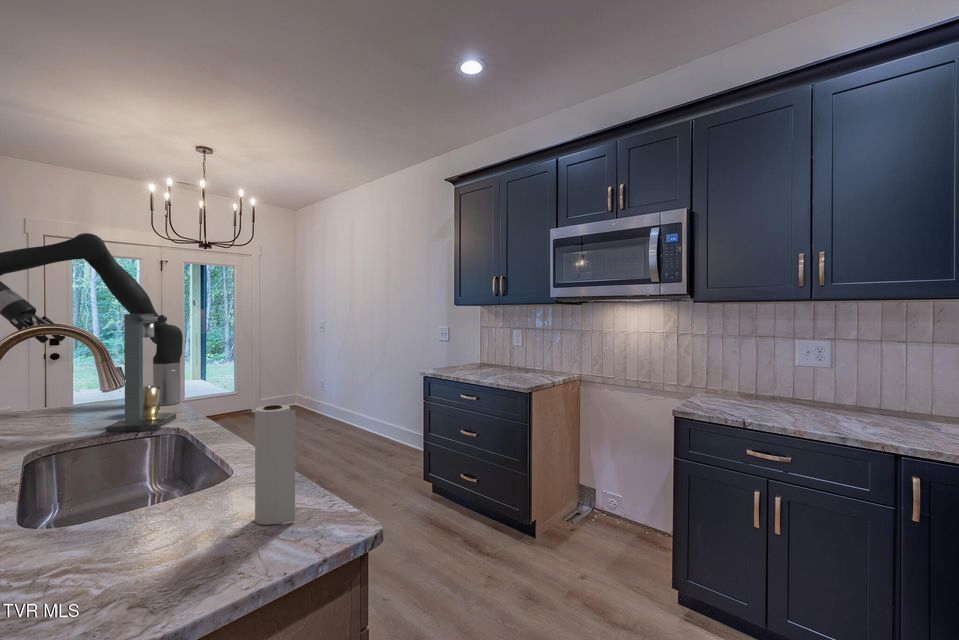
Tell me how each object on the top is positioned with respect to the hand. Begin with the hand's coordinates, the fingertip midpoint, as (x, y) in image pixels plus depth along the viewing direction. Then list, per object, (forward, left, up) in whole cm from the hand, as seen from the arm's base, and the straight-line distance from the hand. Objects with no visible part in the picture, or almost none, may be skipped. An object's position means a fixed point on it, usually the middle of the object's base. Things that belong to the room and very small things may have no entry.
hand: (54, 340), depth 147 cm
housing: (+6, +30, -26) cm, 40 cm away
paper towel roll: (+92, +85, -29) cm, 128 cm away
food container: (-10, +23, -29) cm, 38 cm away
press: (+10, +31, -29) cm, 43 cm away
